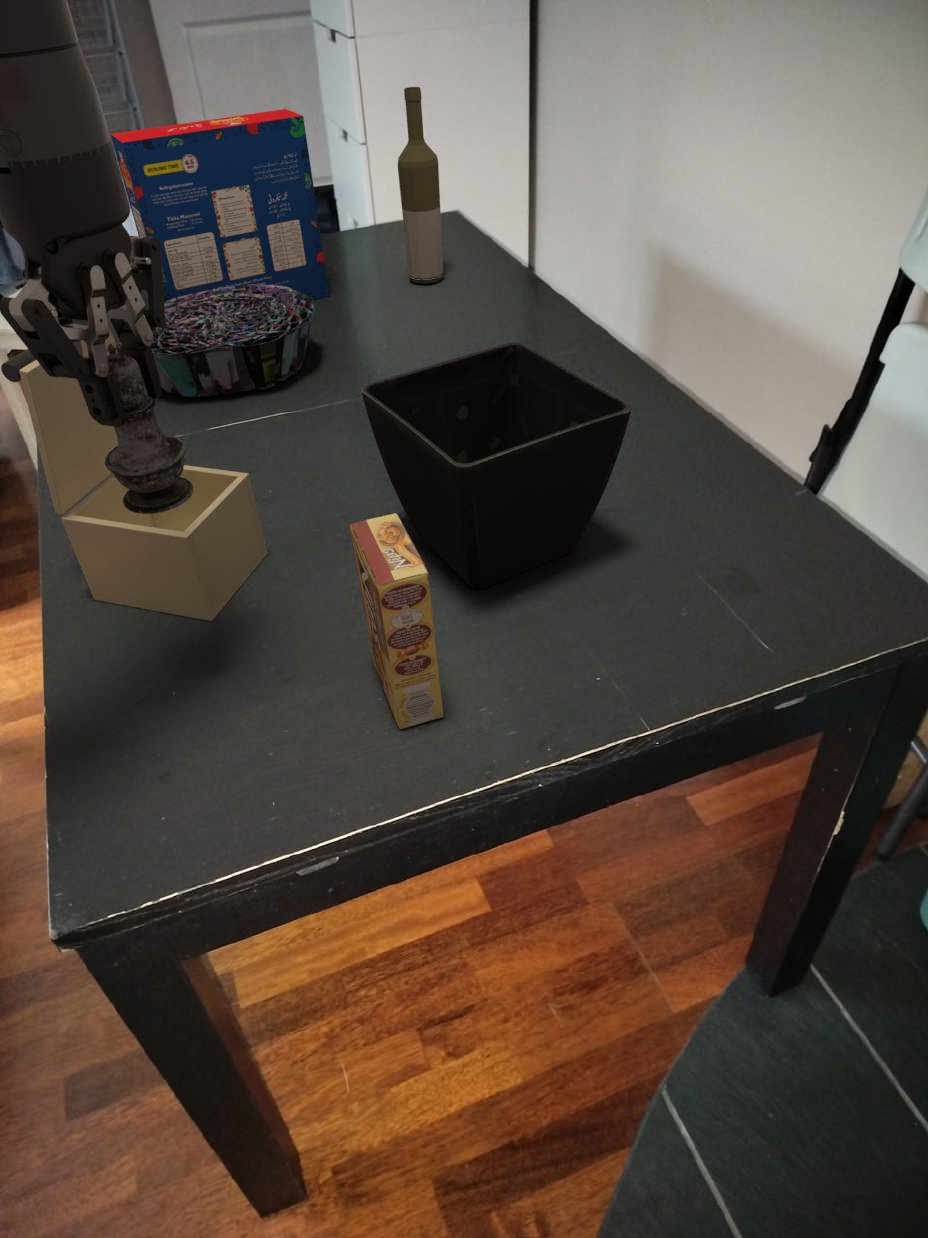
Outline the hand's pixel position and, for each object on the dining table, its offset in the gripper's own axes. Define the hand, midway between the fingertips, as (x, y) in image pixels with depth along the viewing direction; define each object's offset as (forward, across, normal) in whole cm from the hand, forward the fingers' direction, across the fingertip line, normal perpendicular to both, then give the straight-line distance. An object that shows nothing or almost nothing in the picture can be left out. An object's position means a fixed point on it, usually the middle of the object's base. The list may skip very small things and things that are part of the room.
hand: (130, 408), depth 61 cm
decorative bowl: (+26, -59, -32) cm, 72 cm away
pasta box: (+26, -83, -44) cm, 98 cm away
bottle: (+26, -102, -17) cm, 107 cm away
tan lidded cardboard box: (+25, -11, -10) cm, 30 cm away
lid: (+8, -11, -16) cm, 21 cm away
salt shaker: (+7, 0, 0) cm, 7 cm away
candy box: (+26, -2, +18) cm, 31 cm away
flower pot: (+26, -25, +19) cm, 41 cm away
